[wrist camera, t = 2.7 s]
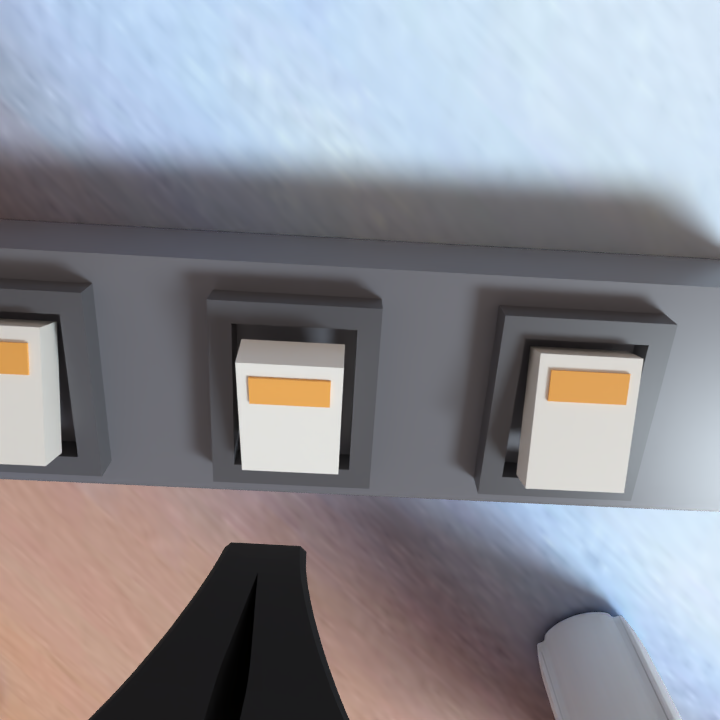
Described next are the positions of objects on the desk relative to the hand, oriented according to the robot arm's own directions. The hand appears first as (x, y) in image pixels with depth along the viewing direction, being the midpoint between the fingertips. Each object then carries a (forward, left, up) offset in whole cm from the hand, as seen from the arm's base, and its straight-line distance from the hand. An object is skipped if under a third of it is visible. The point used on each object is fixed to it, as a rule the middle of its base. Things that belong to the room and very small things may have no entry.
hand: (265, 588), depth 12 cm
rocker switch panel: (+3, 0, -10) cm, 11 cm away
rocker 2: (+7, 0, -7) cm, 10 cm away
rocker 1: (-8, 0, -7) cm, 10 cm away
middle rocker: (0, 0, -7) cm, 7 cm away
